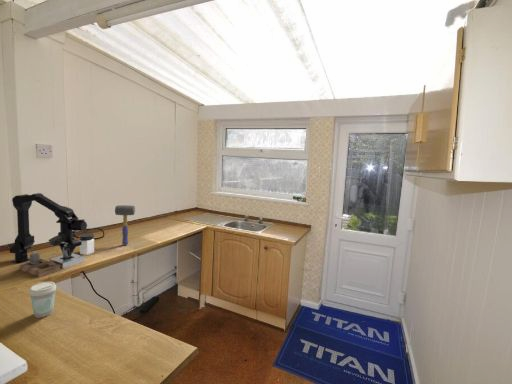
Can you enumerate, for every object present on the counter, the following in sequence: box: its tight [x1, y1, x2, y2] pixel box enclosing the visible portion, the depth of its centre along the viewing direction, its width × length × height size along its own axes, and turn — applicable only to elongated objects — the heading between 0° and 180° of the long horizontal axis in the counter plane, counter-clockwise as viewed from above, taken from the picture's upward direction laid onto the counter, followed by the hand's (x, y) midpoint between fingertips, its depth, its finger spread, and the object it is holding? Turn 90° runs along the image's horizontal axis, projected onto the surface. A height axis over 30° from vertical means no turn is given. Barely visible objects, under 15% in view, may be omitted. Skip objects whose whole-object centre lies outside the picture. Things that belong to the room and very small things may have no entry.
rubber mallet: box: [114, 204, 136, 246], centre depth 185 cm, size 12×8×30 cm, turn 106°
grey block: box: [62, 244, 71, 260], centre depth 150 cm, size 4×4×12 cm
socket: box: [49, 253, 85, 269], centre depth 151 cm, size 12×12×3 cm
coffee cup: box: [28, 281, 57, 319], centre depth 102 cm, size 8×8×12 cm
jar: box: [78, 233, 95, 256], centre depth 167 cm, size 9×8×12 cm
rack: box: [18, 251, 61, 278], centre depth 139 cm, size 18×10×9 cm, turn 68°
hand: (67, 255), depth 151 cm, fingers open, 4 cm apart
